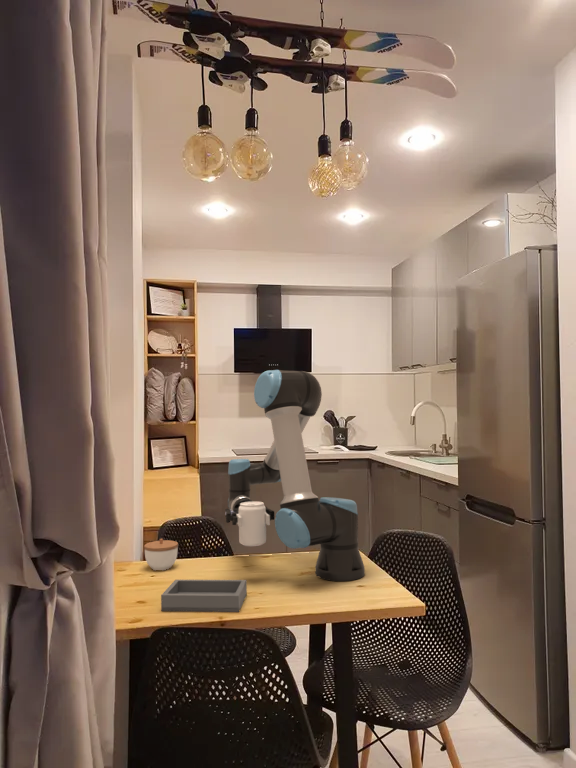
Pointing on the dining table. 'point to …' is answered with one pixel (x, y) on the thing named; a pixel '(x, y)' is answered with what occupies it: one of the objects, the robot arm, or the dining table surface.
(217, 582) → the parts tray
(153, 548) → the lidded jar
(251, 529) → the beverage can
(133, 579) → the dining table surface
